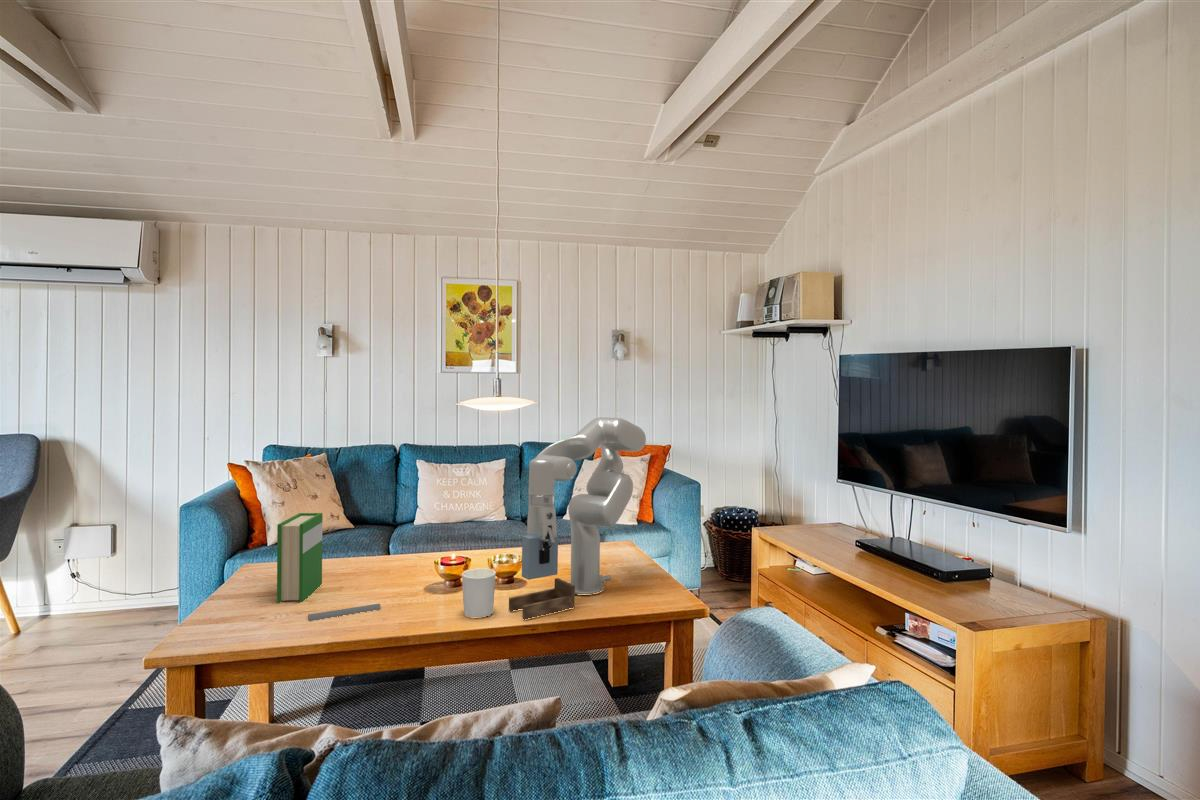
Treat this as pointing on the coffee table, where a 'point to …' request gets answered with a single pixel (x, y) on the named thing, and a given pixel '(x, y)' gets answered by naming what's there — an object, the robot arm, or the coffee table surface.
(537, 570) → the slate-blue book
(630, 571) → the coffee table surface
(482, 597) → the grey cylinder
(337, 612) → the gray half cylinder
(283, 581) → the hardback book
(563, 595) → the book rack
